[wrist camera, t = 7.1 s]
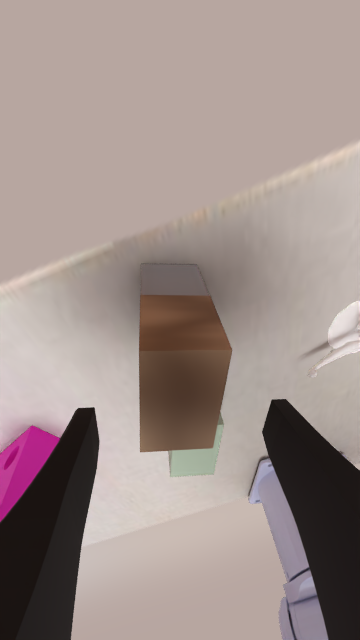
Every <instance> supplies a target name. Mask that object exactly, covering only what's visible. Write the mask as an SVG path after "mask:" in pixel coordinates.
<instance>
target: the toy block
mask: <svg viewBox="0 0 360 640" xmlns="http://www.w3.org/2000/svg"><path fill="white" fill-rule="evenodd" d="M59 440H60V438H58V437H56V436H54V435H52V434H50V433H47V432H45V431H43V430H41V429H39V428H37V427H35V426H31V427H30V428H29V429H28V430H26V431H25V432H24V433H23V434H22V435H21V436H20V437H19V438H18V439H16V440H15V441H14V442H13V443H12V444H11V445H10V446H9V447H7V448H6V449H5V450H4V451H3V452H2V453H1V454H0V522H1V520H2V519H3V518H4V517H5V516H6V514H7V513H8V512H9V511H10V509H11V508H12V507H13V506H14V504H15V503H16V502H17V501H18V499H19V498H20V497H21V496H22V494H23V493H24V492H25V490H26V489H27V488H28V486H29V485H30V483H31V482H32V481H33V479H34V478H35V476H36V475H37V473H38V472H39V471H40V469H41V468H42V466H43V465H44V463H45V462H46V460H47V459H48V457H49V456H50V454H51V453H52V451H53V449H54V448H55V446H56V445H57V443H58V442H59Z"/></svg>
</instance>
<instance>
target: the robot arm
mask: <svg viewBox="0 0 360 640" xmlns="http://www.w3.org/2000/svg"><path fill="white" fill-rule="evenodd" d="M262 433H263V437H264V441H265V445H266V448H267V451H268V455H269V458H270V459H266V460H262V461H261V462H260V464H259V467H258V470H257V473H256V476H255V480H254V483H253V486H252V489H251V492H250V495H249V498H248V500H249V503H251V504H254V503H262V504H263V507H264V511H265V514H266V517H267V519H268V523H269V526H270V529H271V533H272V536H273V539H274V542H275V545H276V548H277V551H278V554H279V558H280V561H281V564H282V567H283V570H284V573H285V576H286V579H287V583H286V584H284V585H283V587H284V590H285V594H286V597H283V598H282V600H281V605H280V610H279V623H280V629H281V634H282V638H283V640H360V470H358V469H357V468H356V467H355V466H354V465H353V464H351V463H350V462H349V461H348V460H347V458H346V456H345V455H343V454H340V453H339V452H338V451H337V450H336V449H335V448H334V447H333V446H332V445H331V444H330V443H329V442H328V441H326V440H325V439H324V438H323V437H322V436H321V435H320V434H319V433H318V432H317V431H316V430H315V429H314V428H313V427H312V426H311V425H310V424H309V423H308V422H307V421H306V420H305V418H304V417H303V416H302V415H301V414H300V413H299V412H298V411H297V410H296V409H295V408H294V407H293V406H292V405H291V404H290V403H289V402H288V401H287V400H286V399H277V400H272V401H271V404H270V407H269V411H268V414H267V417H266V421H265V424H264V428H263V431H262ZM98 451H99V435H98V428H97V421H96V415H95V408H94V407H93V408H78V409H77V410H76V411H75V413H74V415H73V417H72V419H71V421H70V422H69V424H68V426H67V428H66V430H65V431H64V433H63V435H62V437H61V438H60V440H59V442H58V443H57V445H56V446H55V448H54V449H53V451H52V453H51V454H50V456H49V457H48V459H47V460H46V462H45V463H44V465H43V466H42V468H41V469H40V471H39V472H38V473H37V475H36V476H35V478H34V479H33V481H32V482H31V483H30V485H29V486H28V488H27V489H26V490H25V492H24V493H23V494H22V496H21V497H20V498H19V499H18V501H17V502H16V503H15V504H14V506H13V507H12V508H11V509H10V511H9V512H8V513H7V514H6V516H5V517H4V518H3V519H2V520H1V522H0V640H71V631H72V622H73V612H74V602H75V594H76V585H77V576H78V568H79V560H80V552H81V544H82V539H83V533H84V528H85V523H86V518H87V513H88V508H89V503H90V499H91V494H92V489H93V484H94V479H95V474H96V469H97V461H98Z"/></svg>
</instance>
